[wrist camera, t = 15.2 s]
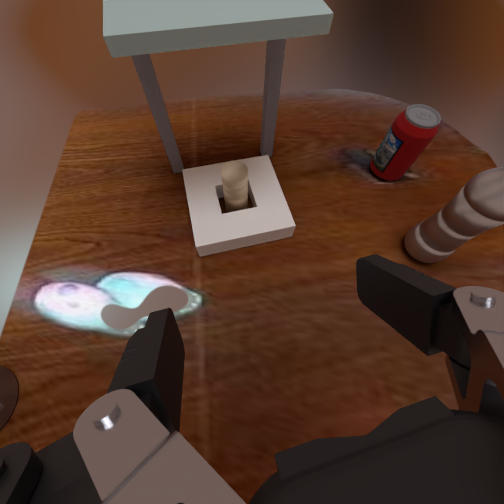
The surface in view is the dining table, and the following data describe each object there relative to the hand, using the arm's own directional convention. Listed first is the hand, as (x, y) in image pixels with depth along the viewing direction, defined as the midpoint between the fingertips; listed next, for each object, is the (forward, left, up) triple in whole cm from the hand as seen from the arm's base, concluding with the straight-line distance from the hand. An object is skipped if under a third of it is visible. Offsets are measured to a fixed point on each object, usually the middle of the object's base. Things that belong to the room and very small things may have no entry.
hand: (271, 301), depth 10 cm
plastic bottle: (+20, +25, -27) cm, 42 cm away
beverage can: (+12, +41, -27) cm, 51 cm away
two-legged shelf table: (-16, +27, -27) cm, 41 cm away
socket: (-12, +21, -27) cm, 36 cm away
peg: (-12, +21, -27) cm, 36 cm away
